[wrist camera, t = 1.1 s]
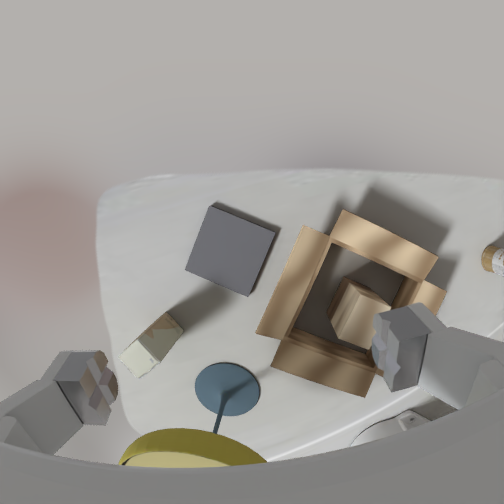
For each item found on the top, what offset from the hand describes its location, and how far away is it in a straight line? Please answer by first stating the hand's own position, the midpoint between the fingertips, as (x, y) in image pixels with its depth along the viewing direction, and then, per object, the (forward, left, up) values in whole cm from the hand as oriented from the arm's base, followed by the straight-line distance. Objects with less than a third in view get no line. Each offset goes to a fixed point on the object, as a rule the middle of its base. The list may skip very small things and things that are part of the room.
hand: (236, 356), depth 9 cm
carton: (-15, +4, -37) cm, 40 cm away
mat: (+4, +4, -37) cm, 38 cm away
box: (+9, +20, -37) cm, 43 cm away
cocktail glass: (-4, +26, -37) cm, 46 cm away
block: (-15, +4, -37) cm, 40 cm away
